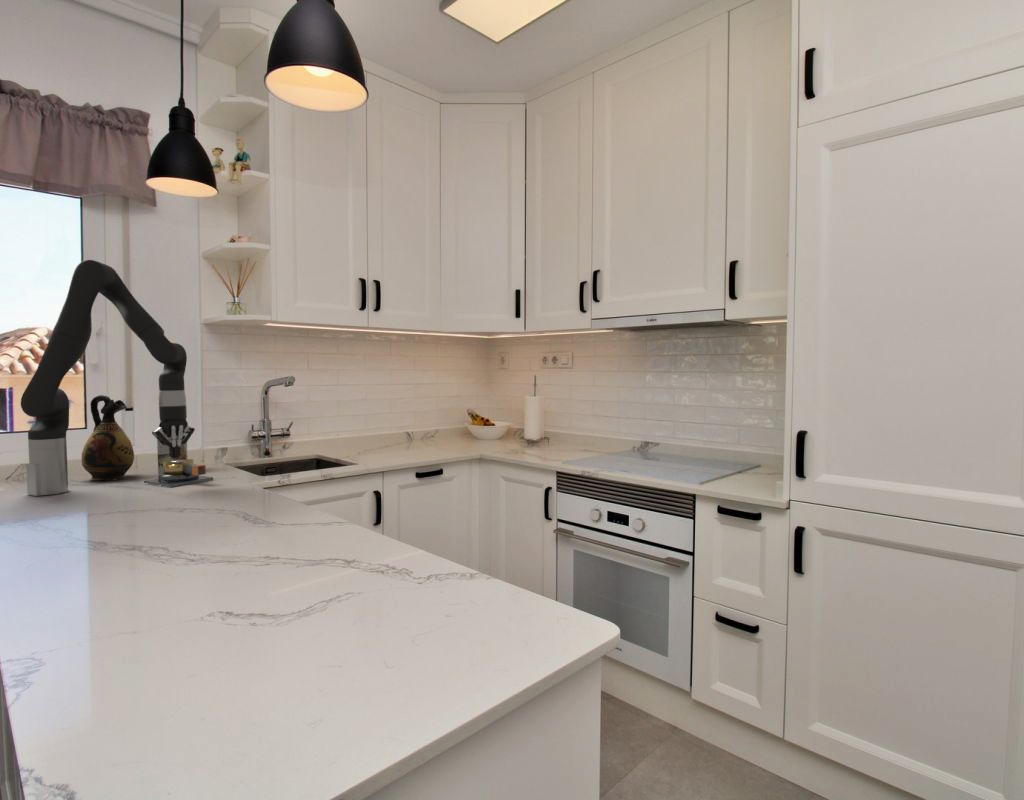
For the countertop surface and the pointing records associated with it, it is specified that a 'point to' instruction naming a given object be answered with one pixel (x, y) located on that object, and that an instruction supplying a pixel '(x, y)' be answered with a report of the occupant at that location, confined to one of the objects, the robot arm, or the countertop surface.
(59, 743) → the countertop surface
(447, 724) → the countertop surface
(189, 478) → the housing
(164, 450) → the coffee box
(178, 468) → the rotary lever handle
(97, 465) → the ceramic jug
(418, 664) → the countertop surface
